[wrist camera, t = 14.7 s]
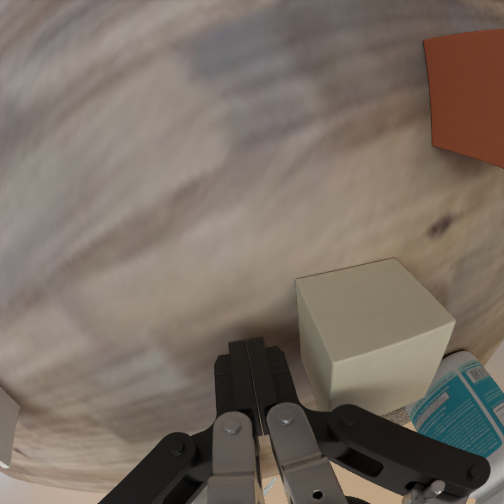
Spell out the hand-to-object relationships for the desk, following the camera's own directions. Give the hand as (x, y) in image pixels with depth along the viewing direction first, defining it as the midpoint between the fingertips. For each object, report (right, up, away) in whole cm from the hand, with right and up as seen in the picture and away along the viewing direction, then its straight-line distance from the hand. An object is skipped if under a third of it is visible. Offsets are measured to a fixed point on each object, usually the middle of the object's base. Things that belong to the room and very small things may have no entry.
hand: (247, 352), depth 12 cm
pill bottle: (+16, -6, +7) cm, 18 cm away
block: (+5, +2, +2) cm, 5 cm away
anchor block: (+10, +12, -3) cm, 16 cm away
